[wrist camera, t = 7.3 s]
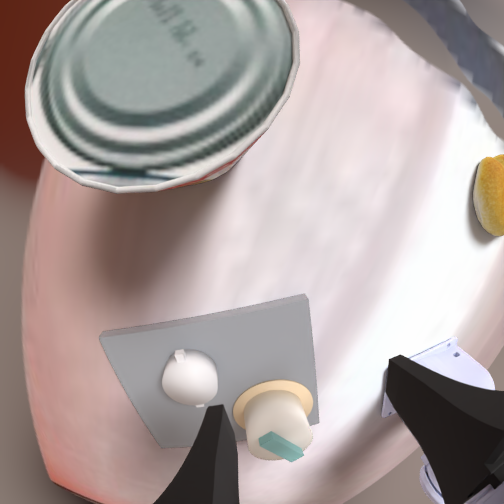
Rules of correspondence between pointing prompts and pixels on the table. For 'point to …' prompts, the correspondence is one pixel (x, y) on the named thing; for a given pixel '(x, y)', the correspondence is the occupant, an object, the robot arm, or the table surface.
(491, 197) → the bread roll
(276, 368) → the post board
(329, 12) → the table surface
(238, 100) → the canned food
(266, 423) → the cap
